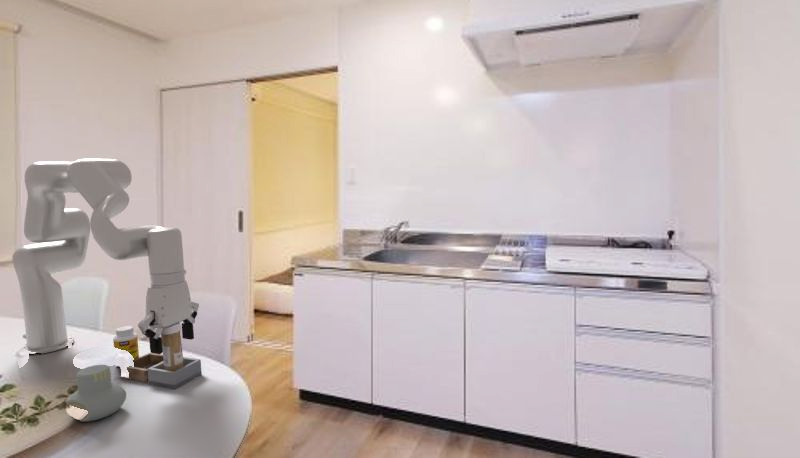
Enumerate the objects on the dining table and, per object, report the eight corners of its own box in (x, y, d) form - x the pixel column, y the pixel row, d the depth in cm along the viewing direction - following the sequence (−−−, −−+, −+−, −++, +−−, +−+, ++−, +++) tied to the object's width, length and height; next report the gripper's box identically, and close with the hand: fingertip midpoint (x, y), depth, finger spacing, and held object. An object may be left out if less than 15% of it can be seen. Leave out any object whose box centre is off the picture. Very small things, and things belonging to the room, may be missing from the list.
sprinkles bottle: (186, 376, 111) (181, 324, 109) (165, 381, 108) (160, 328, 106) (183, 369, 114) (178, 319, 113) (163, 374, 112) (158, 323, 110)
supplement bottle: (118, 370, 117) (114, 333, 116) (113, 364, 121) (110, 328, 120) (142, 364, 121) (138, 328, 120) (136, 358, 125) (133, 323, 124)
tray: (148, 384, 109) (147, 368, 108) (176, 370, 117) (175, 355, 116) (175, 389, 106) (174, 373, 106) (201, 374, 114) (200, 359, 114)
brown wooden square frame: (120, 377, 113) (119, 366, 113) (150, 363, 121) (150, 352, 121) (147, 382, 110) (146, 370, 110) (176, 367, 118) (175, 356, 118)
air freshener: (133, 408, 98) (129, 365, 96) (97, 429, 90) (92, 382, 89) (98, 400, 101) (94, 359, 100) (60, 419, 94) (55, 374, 92)
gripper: (183, 270, 118) (188, 332, 120) (124, 285, 101) (130, 357, 104) (206, 271, 115) (210, 335, 117) (148, 288, 99) (155, 361, 101)
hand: (173, 345), depth 110 cm, fingers open, 9 cm apart
